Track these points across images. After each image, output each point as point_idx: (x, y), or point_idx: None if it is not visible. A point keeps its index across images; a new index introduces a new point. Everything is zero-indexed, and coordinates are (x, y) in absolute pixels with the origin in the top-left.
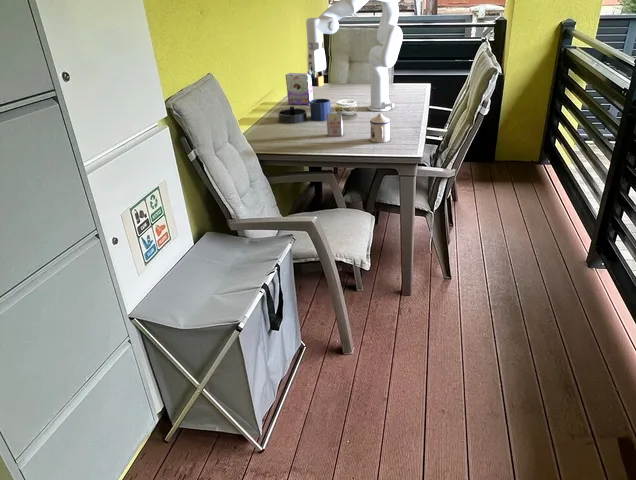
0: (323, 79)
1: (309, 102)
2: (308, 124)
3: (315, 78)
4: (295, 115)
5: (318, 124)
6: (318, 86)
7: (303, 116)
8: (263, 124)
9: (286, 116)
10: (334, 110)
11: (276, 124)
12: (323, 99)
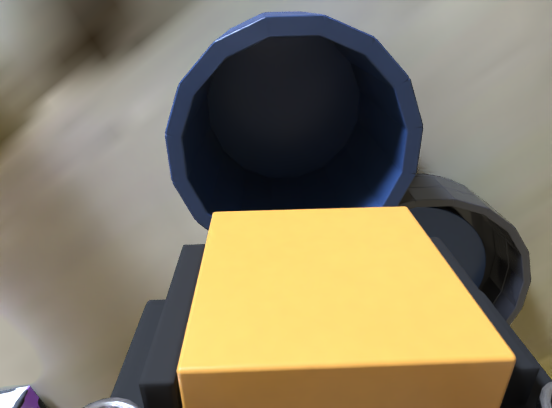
0: (198, 285)
1: (20, 400)
2: (487, 87)
3: (520, 390)
4: (508, 221)
5: (466, 2)
6: (405, 217)
7: (433, 188)
8: (548, 341)
9: (526, 271)
10: (4, 164)
11: (534, 283)
12: (188, 175)
